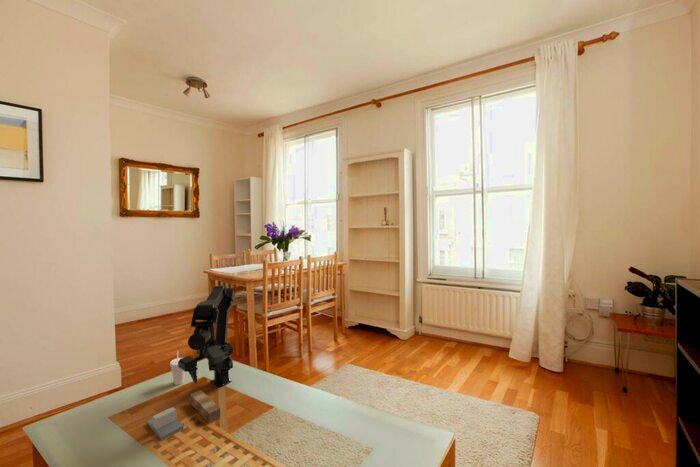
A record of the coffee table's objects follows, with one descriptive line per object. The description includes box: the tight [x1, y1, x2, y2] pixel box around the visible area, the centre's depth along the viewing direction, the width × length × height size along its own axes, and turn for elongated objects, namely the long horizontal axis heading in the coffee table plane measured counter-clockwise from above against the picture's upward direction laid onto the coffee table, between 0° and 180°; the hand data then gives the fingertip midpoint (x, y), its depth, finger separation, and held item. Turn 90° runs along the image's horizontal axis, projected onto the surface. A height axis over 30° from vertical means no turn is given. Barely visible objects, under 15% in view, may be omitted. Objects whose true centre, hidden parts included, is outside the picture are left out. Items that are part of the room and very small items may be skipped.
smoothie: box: [169, 350, 186, 386], centre depth 136 cm, size 6×6×14 cm
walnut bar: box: [190, 390, 221, 424], centre depth 119 cm, size 16×4×4 cm, turn 48°
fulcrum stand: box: [146, 406, 185, 441], centre depth 110 cm, size 12×7×5 cm, turn 52°
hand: (207, 377), depth 119 cm, fingers open, 9 cm apart
